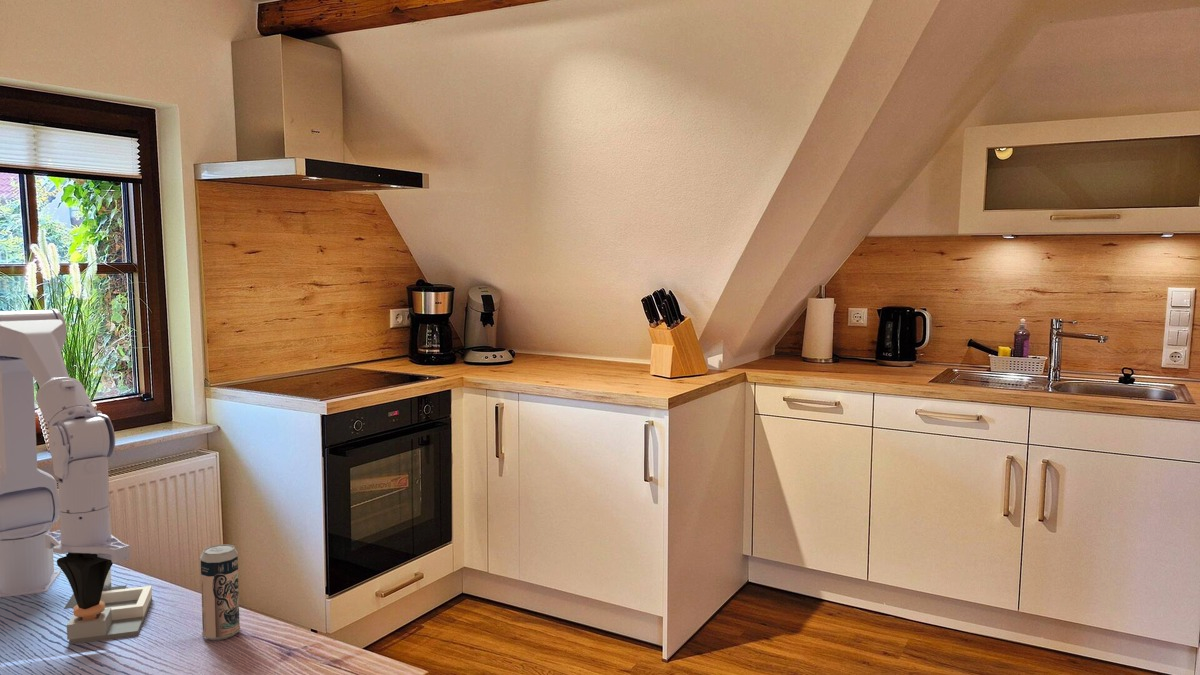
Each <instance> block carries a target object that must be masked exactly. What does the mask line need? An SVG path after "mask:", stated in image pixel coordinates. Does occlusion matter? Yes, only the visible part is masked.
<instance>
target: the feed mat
mask: <svg viewBox="0 0 1200 675" xmlns="http://www.w3.org/2000/svg"><path fill="white" fill-rule="evenodd" d="M127 586H128V585H127V584H126V585H117V586H111V588H112V590H118V589H127ZM76 605H78V604H77V602H76V599H75V596H74V593H73V592H72V595H71V596H70V598H69V600H67V603H66V604H65V605H64V607H63V609H64V610H65V609H73V608H74V607H75V606H76Z"/></svg>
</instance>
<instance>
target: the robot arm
mask: <svg viewBox="0 0 1200 675" xmlns="http://www.w3.org/2000/svg"><path fill="white" fill-rule="evenodd" d="M65 320H66V319H65V316H63V314H62V313H61V312H60V311H59V309H57V308H51V309H39V310H38V309H37V310H35V309H34V310H4V311H0V598H5V597H17V596H25V595H35V594H42V593H46V592H48V591H49V589H50V588H51V587H52V585H53V584H54V582H55V581H56V580H57V578H58V577H59V575H60V574H61V573H62V572H63V574H64V575H65V577H66V579H67V580H68V583H69V585H70V587H71V589H72V594H73V593H74V596H75V599H76V602H77V604H78V607H79V608H82V609H88V608H90V607H93V606H96V605H98V604H99V603H100V599H101V595H102V591H103V587H104V583H105V580H106V577H107V574H108V572H109V570H110V568H111V569H112V566H113V564H116V565H117V564H120V563H123V562H126V561H128V560H131V548H130V544H126V543H124V542H122V541H121V540H120V539H118V538H117V537H115V536H114V535H113V534H112V530H111V528H112V527H111V508H110V507H111V506H110V505H111V504H110V482H109V479H110V478H109V458H110V457H112V456H113V455H114V452H115V448H116V435H115V430H114V425H113V423H112V421H111V418H110V417H109V416H108V415H107V414H104V413H102V411H101V410H95V407H94V405H93V403H92V402H91V399H90V397H89V395H88V393H87V391H86V389H85V387H84V385H83V383H82V382H81V381H80V380H78V379H77V378H73V377H70V375H69V373H68V369H67V367H66V364H65V361H64V357H63V355H62V352H63V349H64V345H65V343H66V339H67V325H66V321H65ZM34 379H35V381H36V383H37V385H38V387H39V388H38V390H37V391H36V395H35V386H34V385H35V382H34ZM35 402H36V403H37V405H38V407H39V411H40V412H41V414H42V417H43V418H44V421H45V423H46V425H47V426H46V427H47V428H48V430H49V433H48V446H49V453H50V456H51V460H52V467H53V474H54V476H55V477H57V480H56V478H55V477H54V476H53V475H52V474H50V473H49V472H47V471H45V470H42V469H40V468H38V454H37V453H38V452H37V448H38V446H37V432H36V431H37V430H36V428H37V426H36V409H35V408H36V406H35V405H36V404H35ZM58 520H59V530H54V531H52V532H51V531H50V530H52V529H53V524H56V523H57V521H58ZM54 554H59V555H63V554H66V555H65V556H62V557H60V558H58V559H57V560H56V565H57V567H58V568H59V569H55V564H54V562H55V560H54V559H55V558H54Z"/></svg>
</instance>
